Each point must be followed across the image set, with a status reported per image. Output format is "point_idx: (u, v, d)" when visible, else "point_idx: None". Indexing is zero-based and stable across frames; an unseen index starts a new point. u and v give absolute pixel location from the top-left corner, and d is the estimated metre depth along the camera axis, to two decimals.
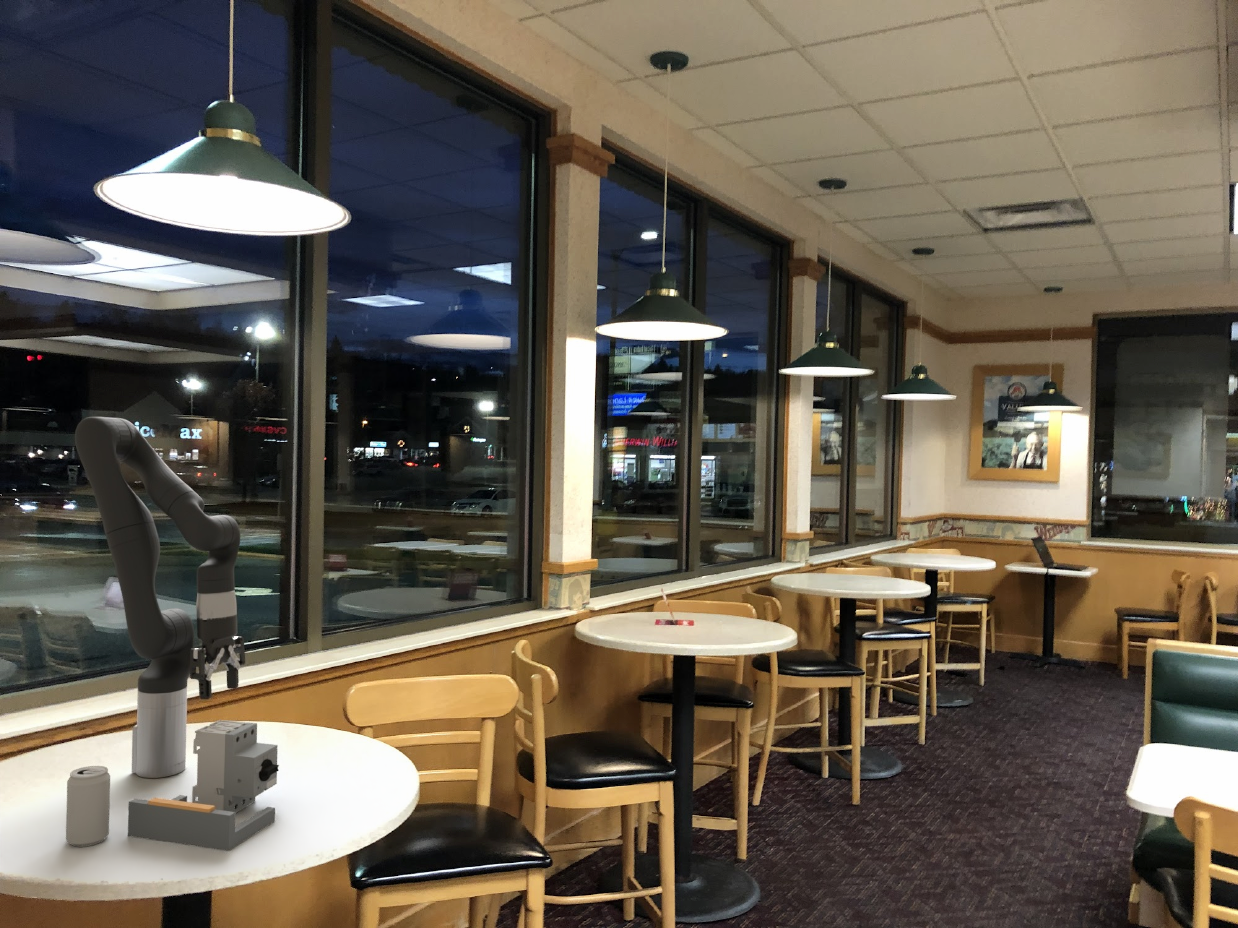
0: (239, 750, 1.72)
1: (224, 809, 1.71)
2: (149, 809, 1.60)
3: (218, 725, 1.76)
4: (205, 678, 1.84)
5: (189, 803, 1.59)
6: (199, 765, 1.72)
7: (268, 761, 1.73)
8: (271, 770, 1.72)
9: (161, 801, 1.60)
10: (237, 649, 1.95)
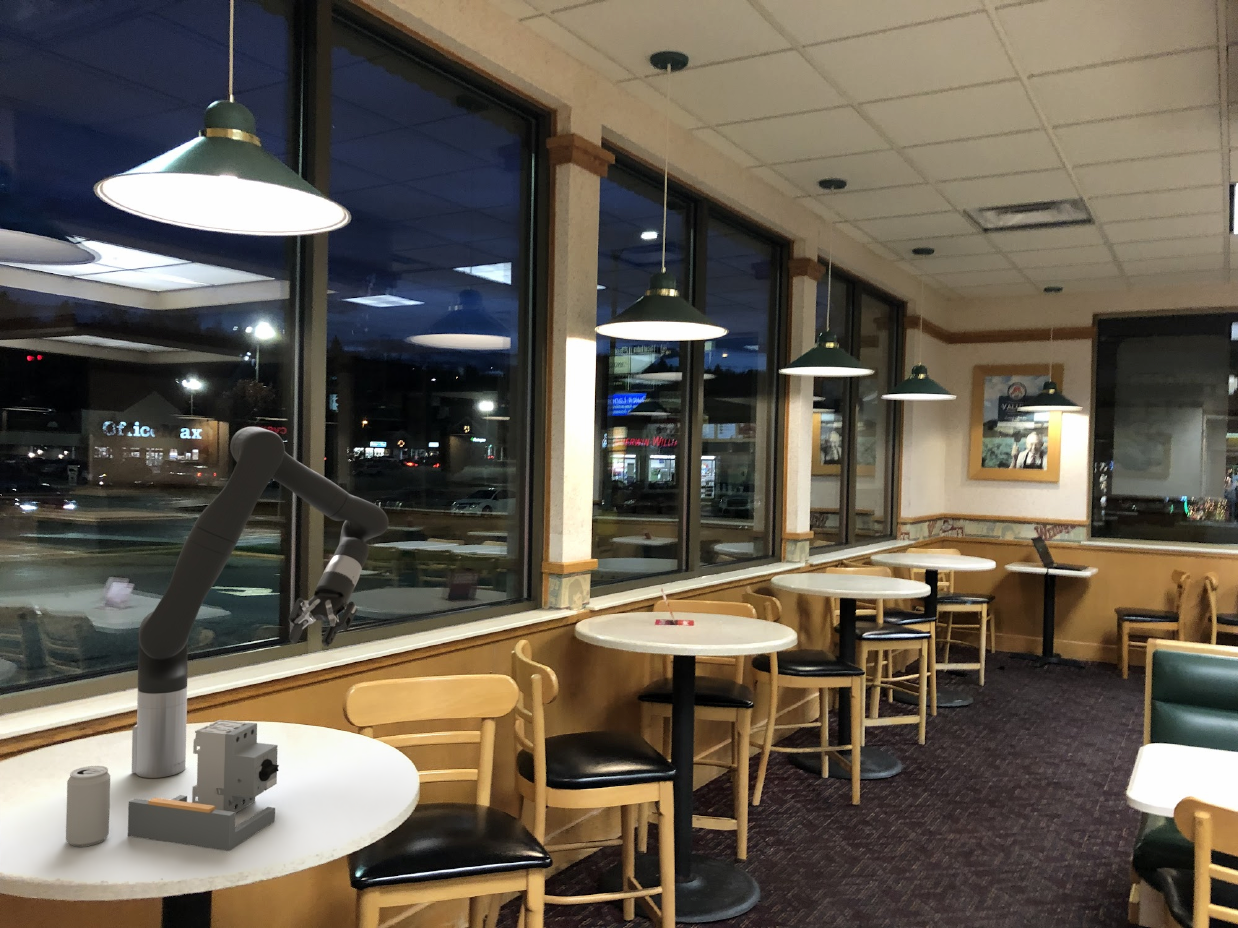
0: (239, 750, 1.72)
1: (224, 809, 1.71)
2: (149, 809, 1.60)
3: (218, 725, 1.76)
4: None
5: (189, 803, 1.59)
6: (199, 765, 1.72)
7: (268, 761, 1.73)
8: (271, 770, 1.72)
9: (161, 801, 1.60)
10: (301, 611, 2.03)
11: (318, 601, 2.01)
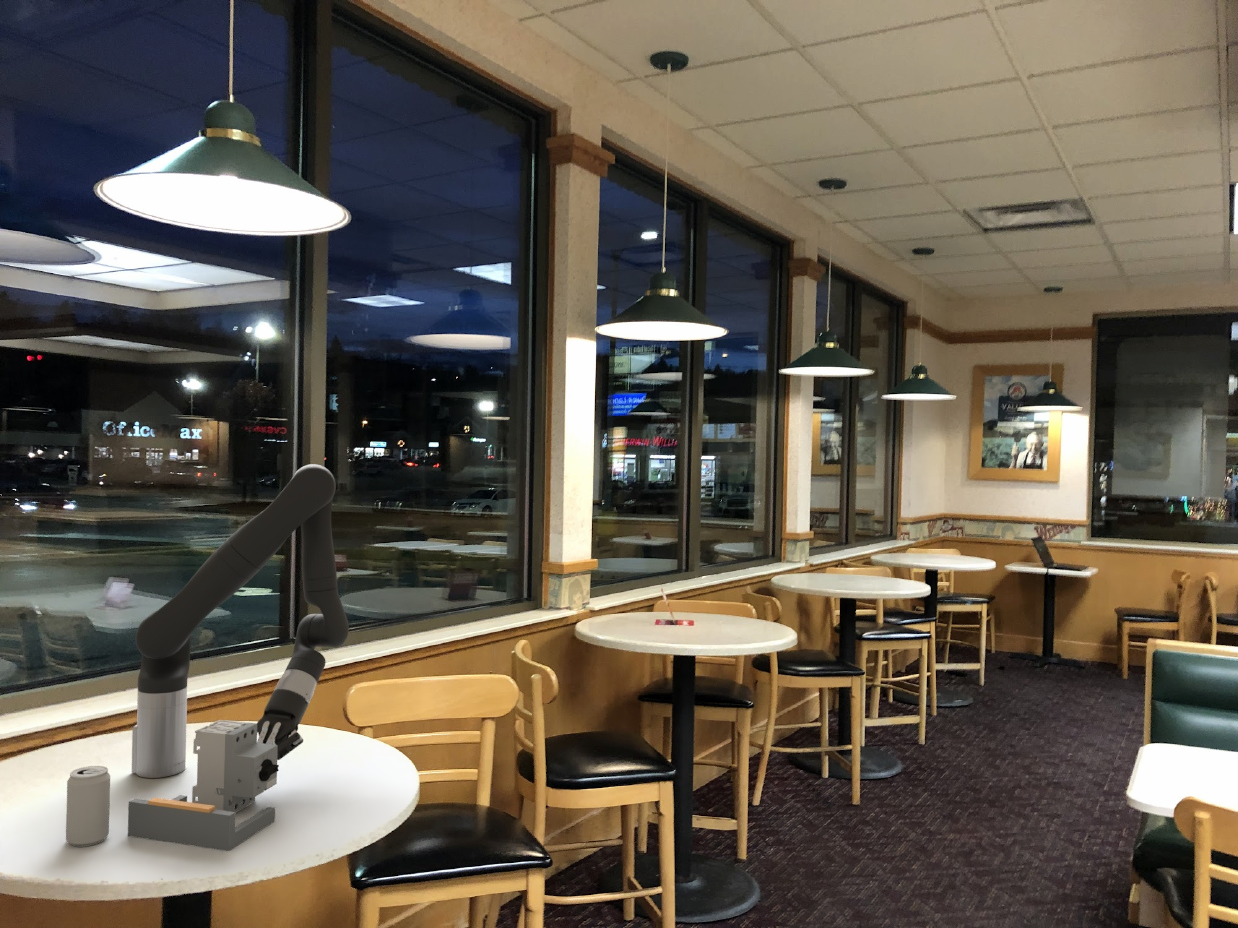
0: (239, 750, 1.72)
1: (224, 809, 1.71)
2: (149, 809, 1.60)
3: (218, 725, 1.76)
4: None
5: (189, 803, 1.59)
6: (199, 765, 1.72)
7: (268, 761, 1.73)
8: (271, 770, 1.72)
9: (161, 801, 1.60)
10: None
11: (267, 723, 1.84)
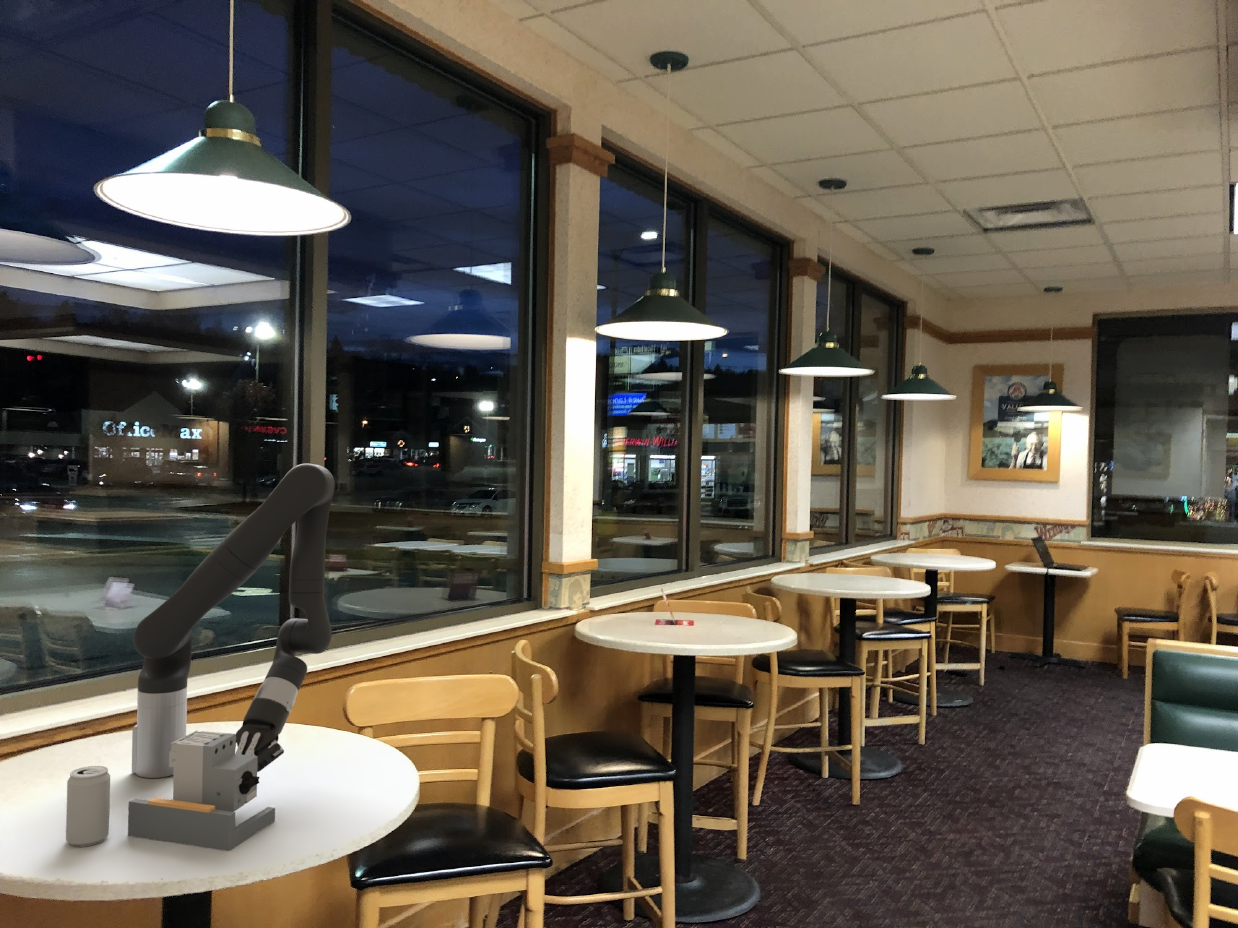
0: (218, 762, 1.66)
1: None
2: (149, 809, 1.60)
3: (195, 736, 1.69)
4: None
5: (189, 803, 1.59)
6: (175, 778, 1.65)
7: (248, 773, 1.67)
8: (252, 782, 1.66)
9: (161, 801, 1.60)
10: None
11: (246, 733, 1.78)
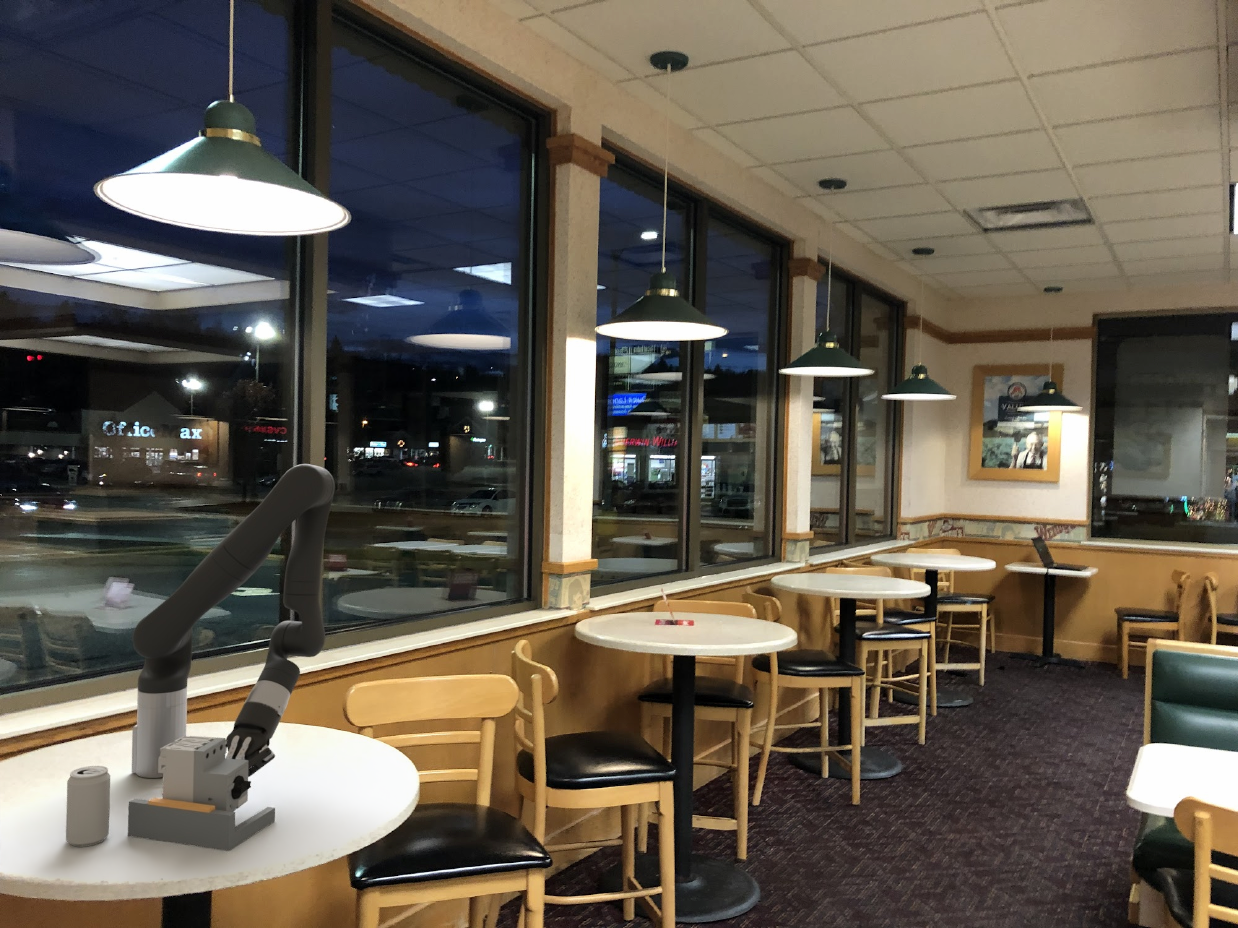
0: (209, 767, 1.63)
1: None
2: (149, 809, 1.60)
3: (183, 741, 1.66)
4: None
5: (189, 803, 1.59)
6: (165, 784, 1.62)
7: (240, 778, 1.65)
8: (244, 787, 1.63)
9: (161, 801, 1.60)
10: None
11: (237, 737, 1.75)
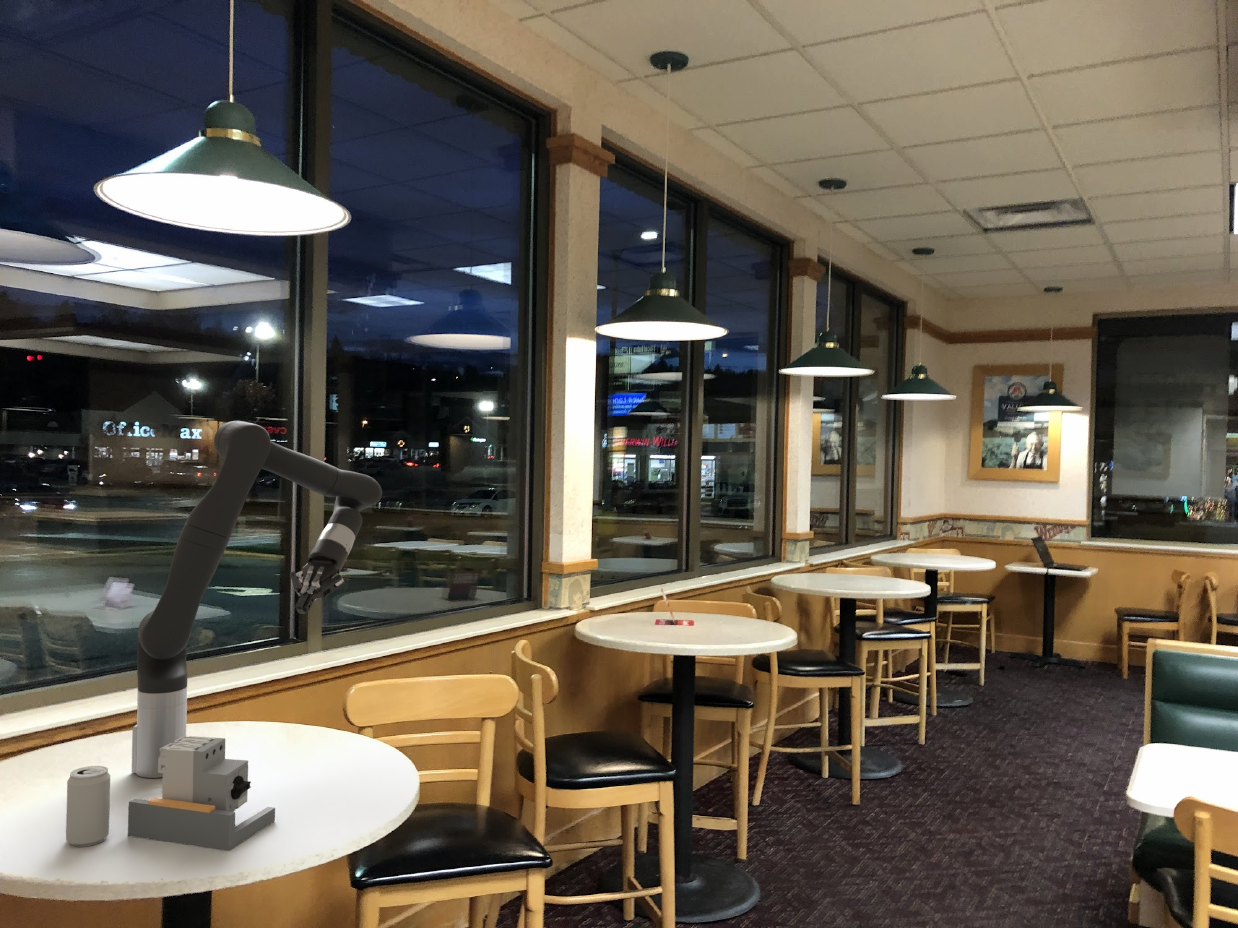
0: (208, 767, 1.63)
1: None
2: (149, 809, 1.60)
3: (183, 742, 1.66)
4: None
5: (189, 803, 1.59)
6: (164, 785, 1.62)
7: (240, 778, 1.64)
8: (243, 787, 1.63)
9: (161, 801, 1.60)
10: (300, 582, 2.04)
11: (312, 567, 2.04)
